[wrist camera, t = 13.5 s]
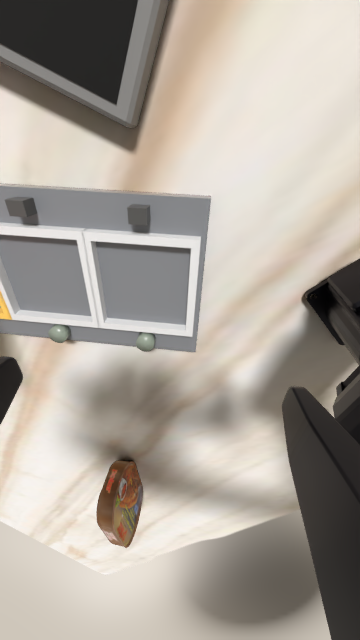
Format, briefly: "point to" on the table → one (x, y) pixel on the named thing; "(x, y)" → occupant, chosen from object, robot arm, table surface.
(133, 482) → the tin
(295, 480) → the robot arm
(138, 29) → the electronic device
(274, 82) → the table surface
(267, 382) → the table surface
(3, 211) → the breaker panel
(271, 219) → the table surface
